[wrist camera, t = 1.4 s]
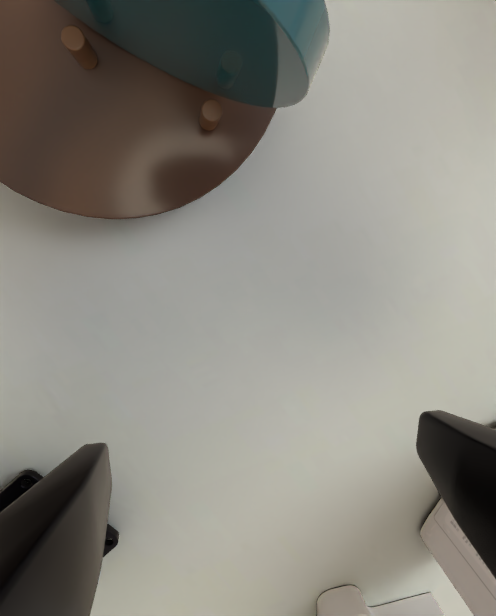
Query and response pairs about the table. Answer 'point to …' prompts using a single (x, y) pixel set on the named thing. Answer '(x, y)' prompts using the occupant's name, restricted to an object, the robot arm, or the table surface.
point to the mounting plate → (354, 612)
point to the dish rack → (145, 95)
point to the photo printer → (460, 561)
